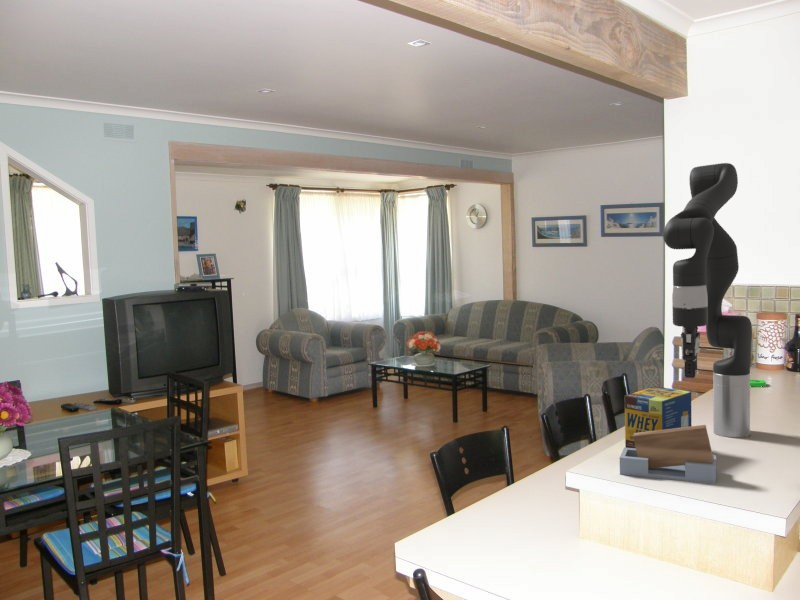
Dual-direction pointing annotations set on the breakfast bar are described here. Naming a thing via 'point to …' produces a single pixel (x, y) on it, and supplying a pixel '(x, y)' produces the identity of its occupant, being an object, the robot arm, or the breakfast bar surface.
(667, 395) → the protein box
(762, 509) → the breakfast bar surface
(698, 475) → the grey slotted holder
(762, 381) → the mechanical part
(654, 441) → the slat
